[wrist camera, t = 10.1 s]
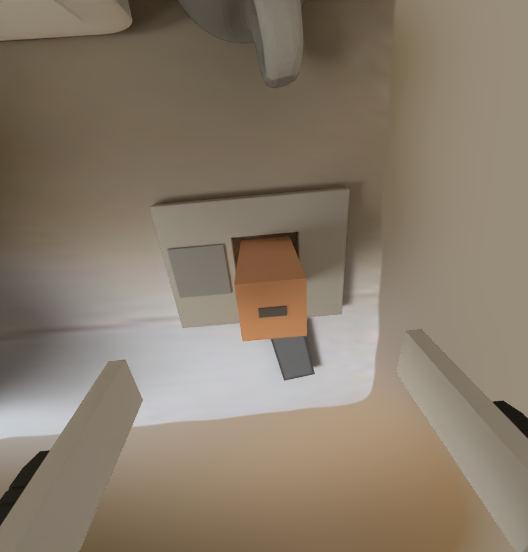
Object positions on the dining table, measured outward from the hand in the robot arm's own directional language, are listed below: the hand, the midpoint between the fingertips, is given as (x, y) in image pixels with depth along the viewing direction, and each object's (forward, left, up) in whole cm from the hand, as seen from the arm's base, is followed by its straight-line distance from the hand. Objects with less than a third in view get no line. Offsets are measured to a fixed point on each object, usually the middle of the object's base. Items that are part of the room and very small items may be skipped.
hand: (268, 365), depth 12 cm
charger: (0, 0, -13) cm, 13 cm away
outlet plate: (-1, 0, -13) cm, 13 cm away
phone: (+2, -11, -13) cm, 17 cm away
